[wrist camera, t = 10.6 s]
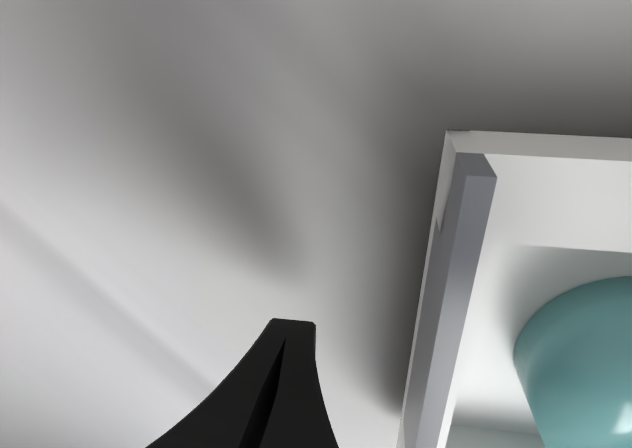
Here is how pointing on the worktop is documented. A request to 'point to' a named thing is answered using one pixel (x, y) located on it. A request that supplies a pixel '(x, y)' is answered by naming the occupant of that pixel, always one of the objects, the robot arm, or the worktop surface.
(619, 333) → the teal dome knob
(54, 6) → the worktop surface
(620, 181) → the tray
